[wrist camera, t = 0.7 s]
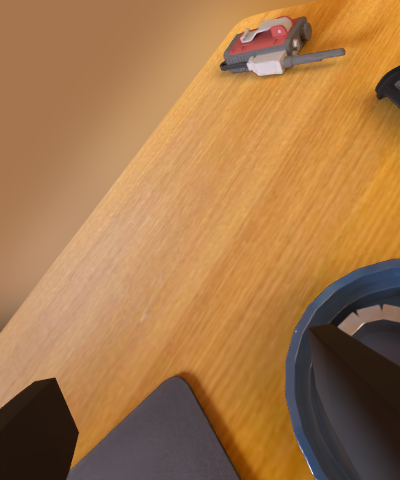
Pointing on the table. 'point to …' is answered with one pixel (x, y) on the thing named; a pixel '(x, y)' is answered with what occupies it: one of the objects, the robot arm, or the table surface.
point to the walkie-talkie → (273, 47)
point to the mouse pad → (160, 442)
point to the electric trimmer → (390, 86)
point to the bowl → (302, 373)
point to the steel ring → (372, 321)
